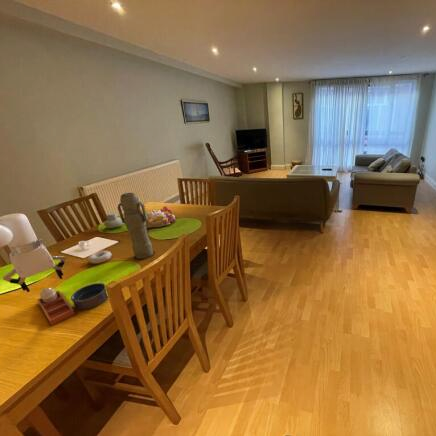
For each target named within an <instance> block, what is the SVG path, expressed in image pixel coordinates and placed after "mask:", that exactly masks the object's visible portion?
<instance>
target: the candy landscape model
mask: <svg viewBox="0 0 436 436" xmlns="http://www.w3.org/2000/svg"><path fill="white" fill-rule="evenodd" d="M165 212H167V213H165ZM168 213H169V214H168ZM146 215H147V218H148V219H147V220H146V221H145V222H146V229H150V228H158V227H159V228H160V227H164V226H167V225H171V223H170V222H172V224H174V222H176V221H177V219H176V216H175V215H174V212H173V211H172V209H171V208H170V207H169V206H167V205H164V206H163V207H162V208H161V209H158V210H155V209H152V210H149V211H148V212H146Z"/></svg>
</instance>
